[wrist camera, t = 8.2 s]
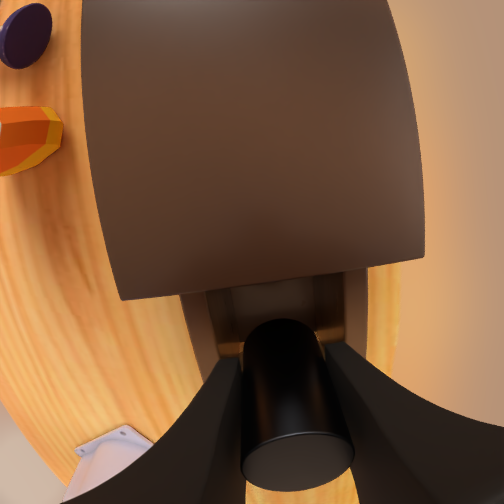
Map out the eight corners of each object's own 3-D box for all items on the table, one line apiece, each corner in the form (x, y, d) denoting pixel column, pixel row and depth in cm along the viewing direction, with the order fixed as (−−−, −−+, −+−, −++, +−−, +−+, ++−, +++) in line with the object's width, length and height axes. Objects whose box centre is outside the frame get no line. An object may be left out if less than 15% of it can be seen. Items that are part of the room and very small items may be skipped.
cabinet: (339, 209, 16) (425, 258, 7) (183, 231, 16) (120, 302, 7) (297, -20, 12) (328, -120, 4) (153, 0, 12) (94, -87, 4)
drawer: (338, 404, 18) (364, 484, 12) (235, 418, 18) (231, 503, 12) (322, 125, 13) (378, 97, 7) (177, 146, 14) (119, 132, 7)
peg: (273, 388, 11) (283, 500, 6) (228, 345, 10) (215, 463, 5) (331, 352, 10) (372, 461, 6) (290, 303, 10) (319, 414, 5)
